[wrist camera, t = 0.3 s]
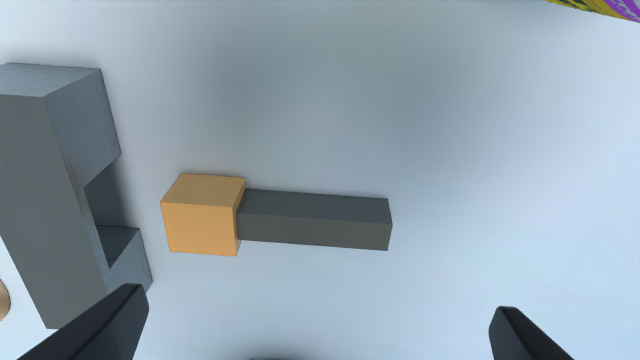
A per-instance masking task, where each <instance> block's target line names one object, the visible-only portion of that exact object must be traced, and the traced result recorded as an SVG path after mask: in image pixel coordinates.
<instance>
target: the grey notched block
mask: <svg viewBox="0 0 640 360" xmlns="http://www.w3.org/2000/svg"><path fill="white" fill-rule="evenodd" d="M120 154H121V151H120V147H119V143H118V139H117V135H116V131H115V127H114V123H113V119H112V115H111V110H110V106H109V102H108V98H107V94H106V90H105V86H104V82H103V78H102V74H101V70H100V69H91V68H77V67H62V66H48V65H34V64H19V63H6V64H3V65H0V236H1V238H2V240H3V242H4V244H5V246H6V248H7V250H8V252H9V254H10V256H11V258H12V260H13V262H14V264H15V266H16V268H17V270H18V272H19V274H20V276H21V278H22V280H23V282H24V284H25V286H26V288H27V290H28V292H29V294H30V296H31V298H32V300H33V302H34V304H35V306H36V308H37V310H38V312H39V314H40V316H41V318H42V321H43V323H44V325H45V327H46V328H47V329H60V328H62V327H63V326H65V325H66V324H67V323H69V322H70V321H72V320H73V319H75V318H76V317H77V316H79V315H80V314H82V313H83V312H84V311H86V310H87V309H89V308H90V307H91V306H93V305H94V304H96V303H97V302H99V301H100V300H101V299H103V298H104V297H106V296H107V295H108V294H110V293H111V292H113V291H114V290H115V289H117V288H118V287H120V286H121V285H123V284H125V283H140V284H142V285H143V286H144V289H145V293H146V292H147V290H148V289H149V287H150V285H151V284H152V278H151V274H150V270H149V266H148V261H147V257H146V253H145V249H144V245H143V241H142V237H141V233H140V229H135V228H122V227H108V226H95V223H94V220H93V217H92V213H91V210H90V207H89V204H88V201H87V198H86V195H85V192H84V187H85V186H86V185H87V184H88V183H89V182H90V181H91V180H93V179H94V178H95V177H96V176H97V175H98V174H99V173H100V172H101V171H103V170H104V169H105V168H106V167H107V166H108V165H109V164H110V163H111V162H112V161H114V160H115V159H116V158H117V157H118V156H119V155H120Z"/></svg>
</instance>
